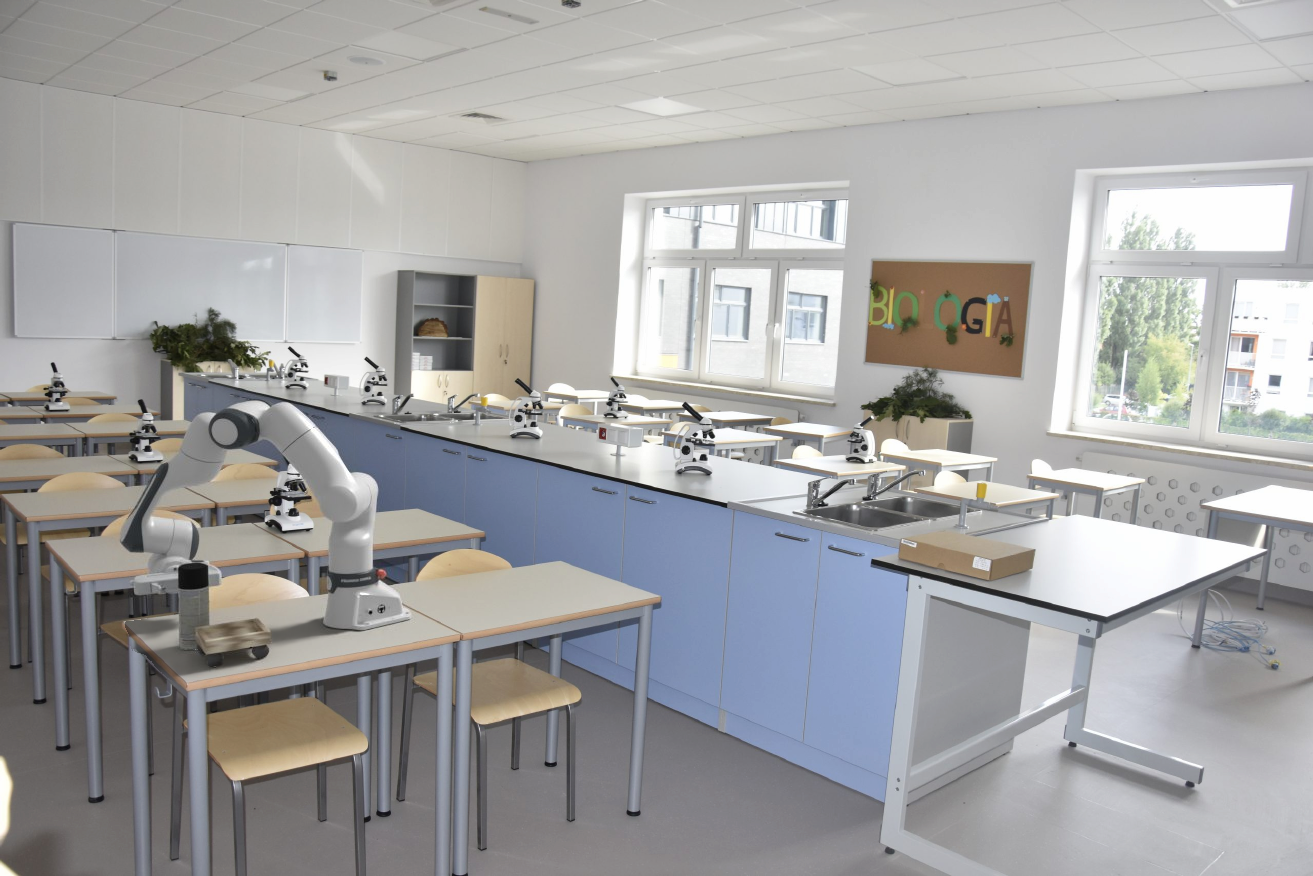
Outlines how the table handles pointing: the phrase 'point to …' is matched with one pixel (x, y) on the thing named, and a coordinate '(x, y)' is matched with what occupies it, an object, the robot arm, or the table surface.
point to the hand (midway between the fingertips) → (183, 588)
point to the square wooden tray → (232, 639)
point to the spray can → (192, 602)
